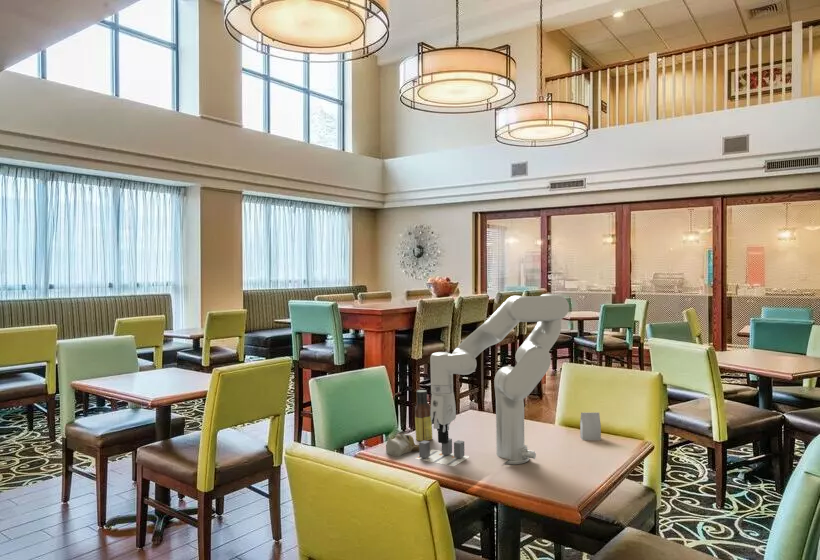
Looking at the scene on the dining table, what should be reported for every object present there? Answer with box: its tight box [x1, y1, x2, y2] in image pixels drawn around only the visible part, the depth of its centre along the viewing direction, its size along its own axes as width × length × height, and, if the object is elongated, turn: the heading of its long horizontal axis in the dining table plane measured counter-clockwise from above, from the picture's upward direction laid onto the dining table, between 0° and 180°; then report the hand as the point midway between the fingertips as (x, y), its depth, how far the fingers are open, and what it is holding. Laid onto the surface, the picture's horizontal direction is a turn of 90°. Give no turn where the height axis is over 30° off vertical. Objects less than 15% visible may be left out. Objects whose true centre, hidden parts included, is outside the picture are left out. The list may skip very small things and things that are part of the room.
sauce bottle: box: [414, 389, 433, 442], centre depth 214 cm, size 6×6×20 cm
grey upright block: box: [579, 412, 602, 441], centre depth 216 cm, size 4×7×10 cm, turn 87°
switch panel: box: [414, 449, 470, 467], centre depth 192 cm, size 15×11×2 cm
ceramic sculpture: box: [385, 431, 419, 457], centre depth 201 cm, size 11×9×15 cm
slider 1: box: [418, 440, 431, 459], centre depth 192 cm, size 2×3×5 cm
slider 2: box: [441, 437, 453, 456], centre depth 195 cm, size 2×3×5 cm
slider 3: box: [453, 439, 465, 458], centre depth 192 cm, size 2×3×5 cm
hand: (443, 442), depth 193 cm, fingers closed
